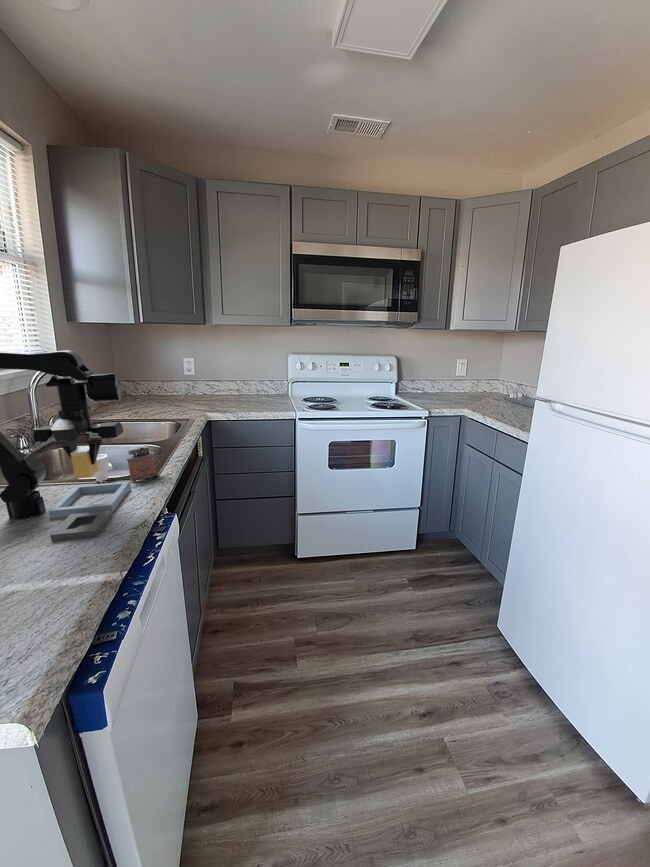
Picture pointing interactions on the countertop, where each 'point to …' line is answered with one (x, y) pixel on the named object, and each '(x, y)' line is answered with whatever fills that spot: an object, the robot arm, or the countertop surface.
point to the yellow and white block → (83, 463)
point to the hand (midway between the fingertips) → (85, 464)
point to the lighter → (141, 463)
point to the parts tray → (93, 489)
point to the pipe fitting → (102, 467)
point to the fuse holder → (81, 525)
